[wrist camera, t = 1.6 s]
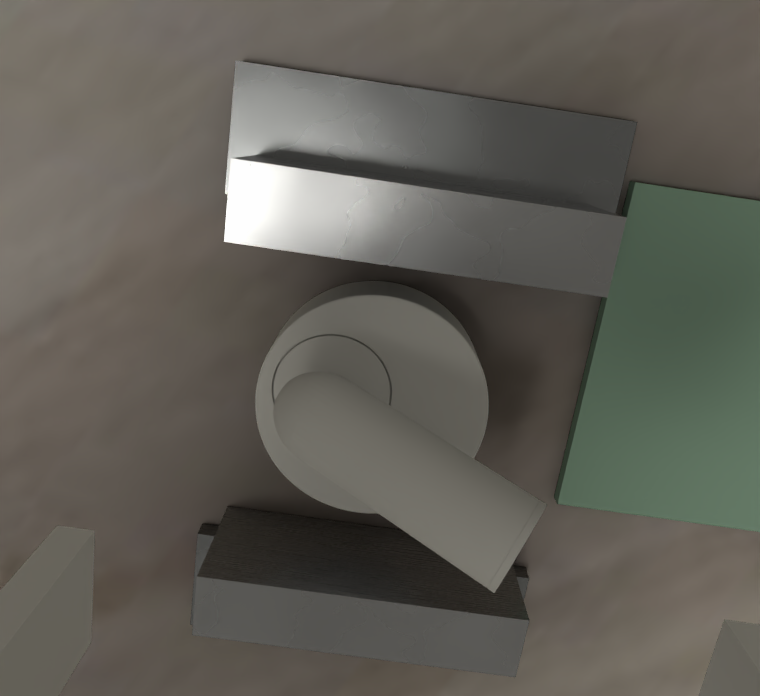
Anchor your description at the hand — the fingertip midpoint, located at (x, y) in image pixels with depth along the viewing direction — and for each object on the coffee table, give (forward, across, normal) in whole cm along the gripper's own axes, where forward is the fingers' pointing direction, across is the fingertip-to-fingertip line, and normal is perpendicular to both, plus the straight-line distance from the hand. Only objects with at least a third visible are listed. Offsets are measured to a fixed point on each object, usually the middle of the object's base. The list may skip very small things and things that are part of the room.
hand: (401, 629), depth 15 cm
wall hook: (+14, 0, 0) cm, 15 cm away
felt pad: (+14, +14, +3) cm, 20 cm away
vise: (+14, 0, 0) cm, 14 cm away
